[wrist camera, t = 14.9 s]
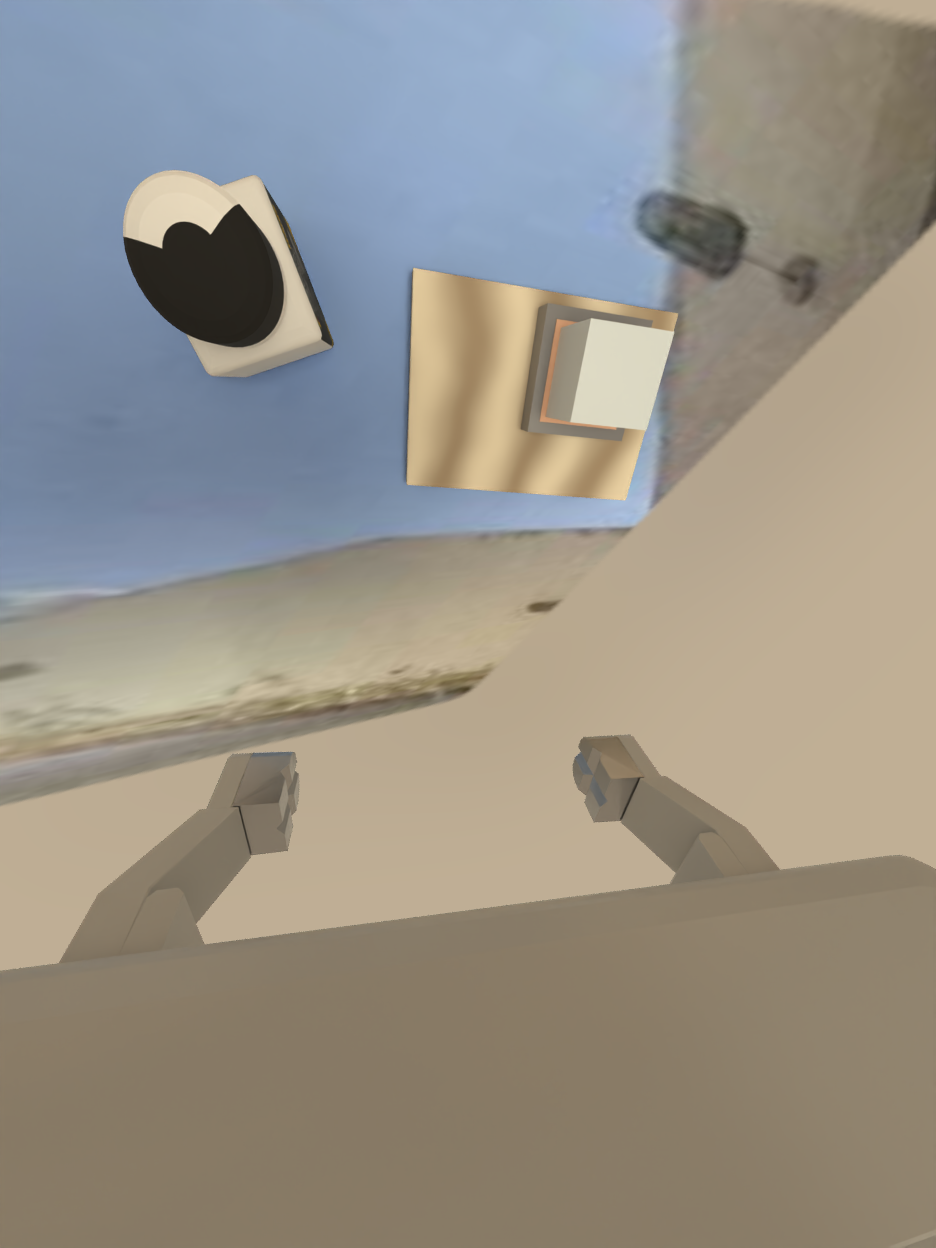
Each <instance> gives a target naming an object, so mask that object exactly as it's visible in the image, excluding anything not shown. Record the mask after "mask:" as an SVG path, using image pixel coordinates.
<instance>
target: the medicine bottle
mask: <svg viewBox="0 0 936 1248" xmlns="http://www.w3.org/2000/svg"><path fill="white" fill-rule="evenodd" d="M123 238H124V245H125V251H126V255H127V259H128V262H129V265H130V267H131V270H132V273H133V275H134V277H135V279H136V281H137V283H138V285H139V287H140V288H141V290H142V292H143V293H144V295H145V296H146V298H147V299H148V300H149V302H150V303H151V304H152V306H153V307H154V308H155V309H156V310H157V311H158V312H159V313H160V314H161V315H162V316H163V317H164V318H165V319H166V320H167V321H168V322H169V323H171V324H172V325H173V326H175V327H176V328H177V329H179V330H180V331H182V332H184V333H186V335H187V337H188V338H189V340H190V342H191V344H192V346H193V348H194V350H195V351H196V353H197V355H198V357H199V359H200V361H201V363H202V365H203V366H204V368H205V370H206V371H207V373H208V374H209V375H211V376H223V377H249V376H252V375H255V374H258V373H261V372H264V371H267V370H270V369H273V368H275V367H278V366H281V365H284V364H287V363H290V362H293V361H296V360H299V359H302V358H305V357H308V356H311V355H314V354H317V353H319V352H322V351H325V350H328V349H331V348H332V347H333V345H334V343H333V339H332V337H331V334H330V331H329V329H328V326H327V324H326V321H325V318H324V316H323V313H322V310H321V308H320V305H319V303H318V300H317V297H316V295H315V292H314V290H313V287H312V284H311V282H310V279H309V276H308V274H307V271H306V269H305V266H304V263H303V261H302V258H301V256H300V253H299V250H298V248H297V245H296V242H295V240H294V237H293V235H292V232H291V229H290V227H289V224H288V223H287V221H286V219H285V218H284V216H283V215H282V213H281V211H280V210H279V208H278V206H277V205H276V203H275V202H274V200H273V198H272V197H271V195H270V194H269V192H268V190H267V189H266V187H265V185H264V184H263V182H262V181H261V179H260V178H259V177H257V176H254V175H251V176H248V177H246V178H243V179H240V180H237V181H234V182H231V183H228V184H225V185H222V186H218V185H217V184H215V183H214V182H212V181H210V180H209V179H206V178H204V177H202V176H200V175H197V174H194V173H190V172H187V171H178V170H171V171H163V172H159V173H156V174H154V175H152V176H150V177H148V178H146V179H145V180H144V181H143V182H141V183H140V184H139V185H138V186H137V188H136V189H135V190H134V192H133V193H132V195H131V197H130V199H129V201H128V203H127V207H126V210H125V214H124V222H123Z"/></svg>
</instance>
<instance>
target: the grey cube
mask: <svg viewBox="0 0 936 1248" xmlns="http://www.w3.org/2000/svg"><path fill="white" fill-rule="evenodd" d="M673 335H674V332H673V331H667V330H661V329H654V328H648V327H642V326H636V325H630V324H624V323H618V322H611V321H605V320H599V319H593V318H590V319H587V320H584V321H581V322H578V323H574V324H571V325H568V326H565V327H562V328H561V331H560V337H559V342H558V348H557V354H556V360H555V366H554V371H553V377H552V383H551V389H550V394H549V400H548V406H547V412H546V417H548V418H553V419H558V420H562V421H567V422H573V423H582V424H591V425H600V426H610V427H619V428H628V429H637V430H647V427H648V423H649V419H650V416H651V412H652V409H653V405H654V402H655V398H656V395H657V391H658V388H659V384H660V381H661V377H662V374H663V370H664V367H665V363H666V360H667V356H668V353H669V349H670V346H671V342H672V338H673Z"/></svg>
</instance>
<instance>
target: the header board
mask: <svg viewBox="0 0 936 1248" xmlns="http://www.w3.org/2000/svg"><path fill="white" fill-rule="evenodd" d="M677 316H678V314H677V313H671V312H665V311H660V310H654V309H648V308H642V307H637V306H631V305H625V304H619V303H613V302H608V301H602V300H596V299H590V298H585V297H579V296H573V295H567V294H561V293H556V292H550V291H544V290H538V289H532V288H527V287H521V286H515V285H509V284H504V283H498V282H492V281H486V280H480V279H475V278H469V277H463V276H457V275H452V274H446V273H440V272H434V271H428V270H423V269H417V268H413V272H412V301H411V335H410V370H409V404H408V439H407V473H406V482H407V485H418V486H432V487H446V488H460V489H474V490H488V491H502V492H516V493H530V494H544V495H558V496H572V497H586V498H601V499H615V500H626V497H627V493H628V490H629V486H630V483H631V479H632V476H633V472H634V468H635V465H636V461H637V458H638V454H639V451H640V447H641V444H642V440H643V437H644V433H645V430H637V429H628V428H619V427H610V426H600V425H591V424H582V423H573V422H567V421H562V420H558V419H553V418H548V417H546V412H547V406H548V400H549V394H550V389H551V383H552V377H553V371H554V366H555V360H556V354H557V348H558V342H559V337H560V331H561V328H562V327H565V326H568V325H571V324H574V323H578V322H581V321H584V320H587V319H590V318H593V319H599V320H605V321H611V322H618V323H624V324H630V325H636V326H642V327H648V328H654V329H661V330H667V331H673V330H674V327H675V323H676V320H677Z"/></svg>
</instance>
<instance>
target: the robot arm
mask: <svg viewBox="0 0 936 1248" xmlns="http://www.w3.org/2000/svg"><path fill="white" fill-rule="evenodd" d="M579 749H580V751H581V752H580V754H578V755H577V756H576V757H575V759H574V763H573V776H574V780H575V783H576V785H577V788H578V789H579V790H580V791H581V792H582V793H584V794H585V795H586V799H585V804H586V807H587V809H588V811H589V813H590V815H591V817H592V819H593V821H594V822H608V821H621V823H622V824H623V825H624V826H626V827H627V828H628V829H629V830H630V831H631V832H632V833H633V834H634V835H635V836H636V837H637V838H639V839H640V840H641V841H642V842H643V843H644V844H645V845H646V846H647V847H648V848H649V849H650V850H651V851H653V852H654V853H655V854H656V855H657V856H658V857H659V858H660V859H661V860H662V861H663V862H664V863H666V864H667V865H668V866H669V867H670V868H671V869H672V870H673V871H674V872H676V874H675V876H674V877H673V879H672V880H671V882H670V884H667V885H660V886H652V887H645V888H637V889H629V890H622V891H613V892H606V893H599V894H591V895H583V896H575V897H567V898H560V899H552V900H545V901H536V902H529V903H521V904H513V905H506V906H498V907H491V908H483V909H475V910H468V911H460V912H452V913H445V914H437V915H430V916H422V917H414V918H407V919H399V920H391V921H383V922H375V923H367V924H360V925H352V926H344V927H337V928H329V929H321V930H313V931H306V932H298V933H290V934H283V935H275V936H267V937H259V938H252V939H244V940H236V941H229V942H220V943H213V944H206V945H204V942H203V940H202V937H201V935H200V932H199V930H198V927H197V925H196V923H197V922H198V921H199V920H200V918H201V917H202V916H203V915H204V914H205V912H206V911H207V910H208V909H209V908H210V906H211V905H212V904H213V903H214V901H215V900H216V899H217V898H218V897H219V895H220V894H221V893H222V892H223V890H224V889H225V888H226V887H227V886H228V884H229V883H230V882H231V881H232V880H233V878H234V877H235V876H236V875H237V874H238V872H239V871H240V870H241V869H242V868H243V866H244V865H245V864H246V863H247V861H248V860H249V859H250V858H251V856H250V855H256V854H265V853H273V852H281V851H288V846H289V841H290V837H291V833H292V828H293V823H292V817H291V815H292V814H293V813H294V812H295V811H296V809H297V804H298V797H299V774H298V773H297V772H296V771H295V768H296V763H297V760H296V754H295V752H270V753H247V754H246V753H245V754H232V755H231V756H230V757H229V758H228V760H227V762H226V765H225V767H224V769H223V771H222V774H221V776H220V779H219V781H218V783H217V785H216V788H215V790H214V793H213V795H212V797H211V800H210V802H209V804H208V806H207V809H202V810H199V811H198V812H196V813H195V814H194V815H193V816H192V817H190V818H189V819H188V820H187V821H186V822H184V823H183V824H182V825H181V826H180V827H178V828H177V829H176V830H175V831H174V832H172V833H171V834H170V835H169V836H167V838H165V839H164V840H163V841H161V842H160V843H159V844H158V845H157V846H155V847H154V848H153V849H152V850H151V851H149V852H148V853H147V854H146V855H145V856H143V857H142V858H141V859H140V860H139V861H137V862H136V863H135V864H134V865H133V866H131V867H130V868H129V869H128V870H126V872H124V873H123V874H122V875H121V876H119V877H118V878H117V879H116V880H115V881H113V882H112V883H111V884H110V885H108V886H107V887H106V888H105V889H104V890H103V891H101V892H100V893H99V894H98V895H97V897H96V899H95V901H94V902H93V904H92V906H91V908H90V909H89V911H88V913H87V915H86V916H85V919H84V920H83V922H82V923H81V925H80V927H79V929H78V930H77V932H76V934H75V936H74V937H73V939H72V941H71V943H70V944H69V946H68V948H67V950H66V952H65V953H64V955H63V957H62V958H61V960H60V962H59V963H58V964H50V965H42V966H34V967H26V968H19V969H11V970H3V971H0V1248H936V869H934V868H933V867H931V866H929V865H926V864H924V863H922V862H920V861H918V860H916V859H914V858H911V857H907V856H901V855H893V856H883V857H876V858H868V859H860V860H852V861H845V862H837V863H829V864H822V865H814V866H806V867H799V868H791V869H783V870H780V869H779V868H778V867H777V865H776V864H775V863H774V862H773V860H772V859H771V858H770V857H769V855H768V854H767V853H766V852H765V850H764V849H763V848H762V847H761V845H760V844H759V843H758V842H757V840H756V839H755V838H754V837H753V836H752V834H751V833H750V832H749V831H748V829H747V828H746V827H744V826H743V825H741V824H740V823H738V822H737V821H735V820H733V819H732V818H730V817H729V816H727V815H726V814H724V813H722V812H721V811H719V810H718V809H716V808H715V807H713V806H711V805H710V804H708V803H707V802H705V801H704V800H702V799H701V798H699V797H697V796H696V795H694V794H693V793H691V792H689V791H688V790H687V789H685V788H683V787H682V786H680V785H679V784H677V783H675V782H674V781H672V780H671V779H669V778H668V777H666V776H661V775H660V774H659V773H658V771H657V770H656V768H655V767H654V765H653V764H652V763H651V761H650V760H649V758H648V757H647V755H646V754H645V753H644V751H643V750H642V748H641V747H640V746H639V744H638V743H637V741H636V740H635V738H634V737H633V736H631V735H615V736H597V737H583V739H581V741H580V743H579Z"/></svg>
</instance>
